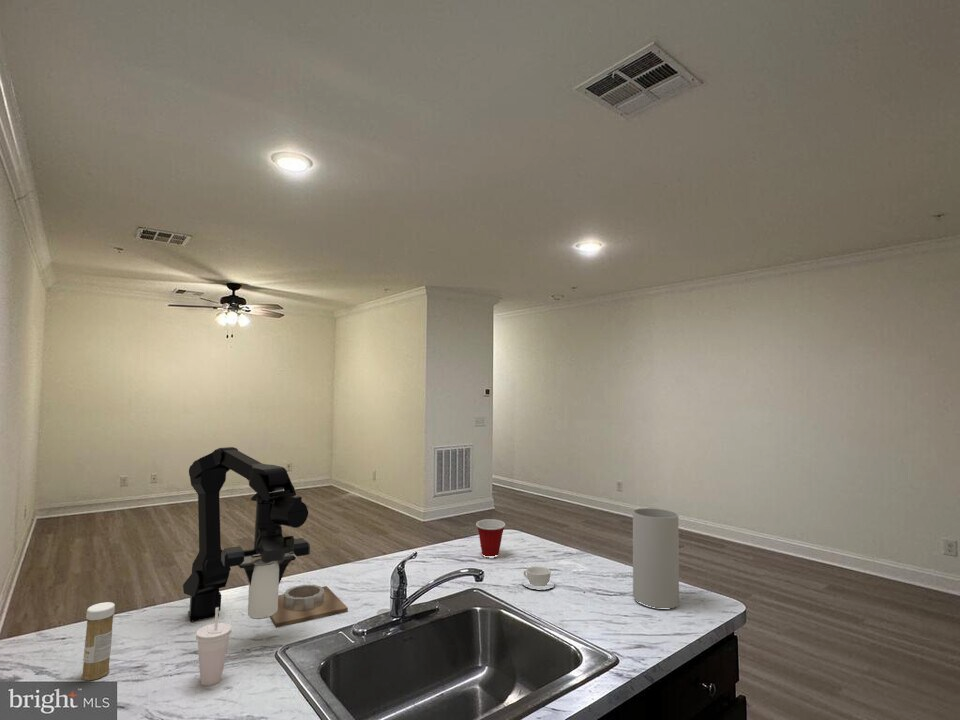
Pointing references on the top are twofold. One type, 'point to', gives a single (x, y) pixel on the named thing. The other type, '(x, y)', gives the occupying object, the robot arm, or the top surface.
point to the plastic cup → (490, 536)
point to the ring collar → (303, 597)
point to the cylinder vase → (656, 557)
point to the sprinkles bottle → (98, 640)
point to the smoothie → (212, 650)
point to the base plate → (327, 608)
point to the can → (263, 590)
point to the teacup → (538, 575)
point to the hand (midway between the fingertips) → (264, 589)
